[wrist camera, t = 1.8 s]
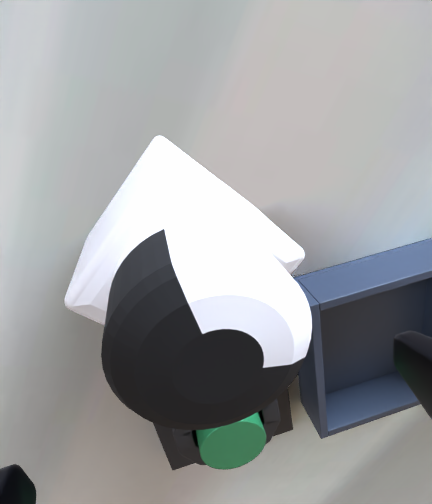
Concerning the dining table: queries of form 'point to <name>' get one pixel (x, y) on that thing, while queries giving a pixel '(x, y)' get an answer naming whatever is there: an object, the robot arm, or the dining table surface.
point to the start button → (232, 443)
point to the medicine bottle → (191, 296)
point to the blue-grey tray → (363, 335)
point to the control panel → (186, 444)
